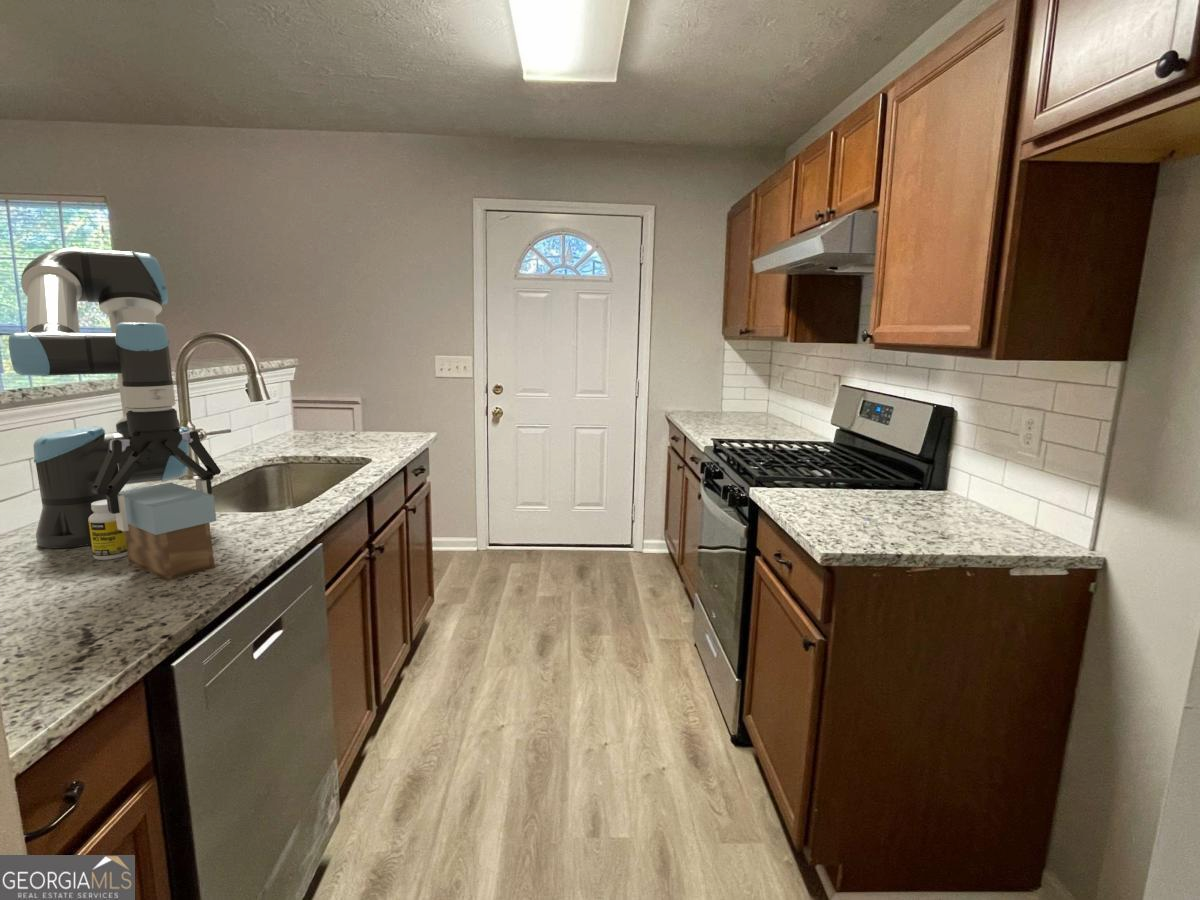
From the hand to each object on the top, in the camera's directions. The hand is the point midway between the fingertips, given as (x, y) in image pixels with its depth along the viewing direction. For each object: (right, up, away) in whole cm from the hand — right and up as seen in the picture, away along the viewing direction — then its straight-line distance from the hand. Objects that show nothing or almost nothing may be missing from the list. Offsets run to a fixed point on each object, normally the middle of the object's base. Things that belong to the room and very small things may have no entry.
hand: (165, 520), depth 116 cm
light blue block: (0, -1, 0) cm, 1 cm away
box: (0, -9, +2) cm, 9 cm away
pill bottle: (-15, -8, +6) cm, 18 cm away
